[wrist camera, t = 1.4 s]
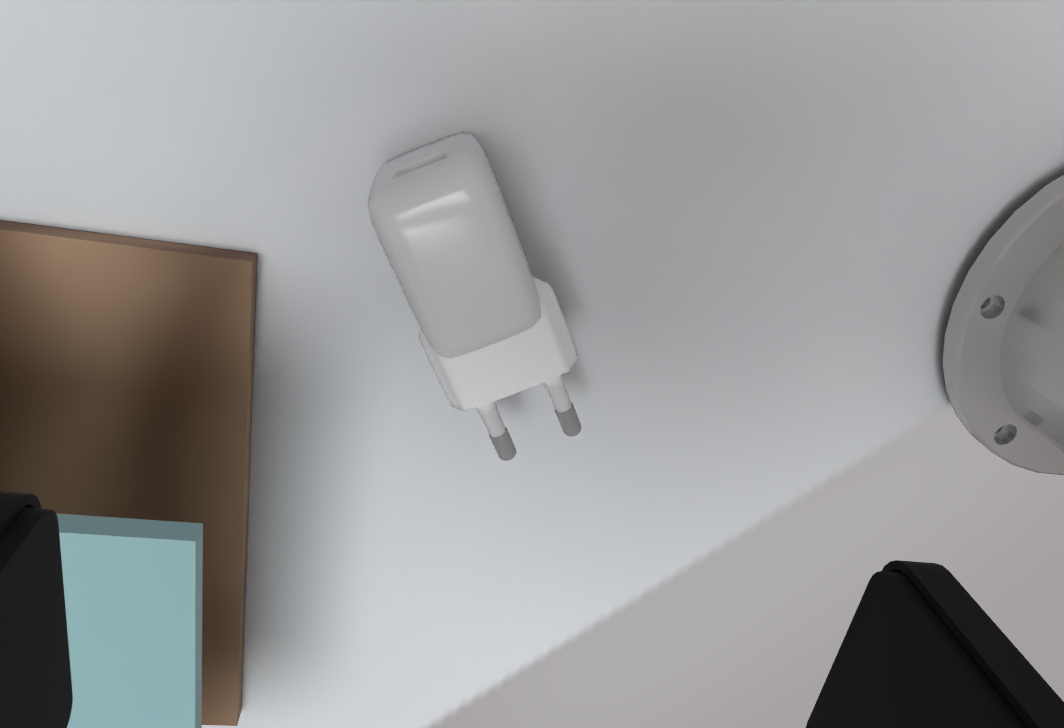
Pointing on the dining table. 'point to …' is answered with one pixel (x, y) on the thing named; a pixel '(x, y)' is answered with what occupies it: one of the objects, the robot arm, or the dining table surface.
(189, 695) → the flap
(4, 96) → the dining table surface
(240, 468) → the stand
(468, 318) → the power adapter
